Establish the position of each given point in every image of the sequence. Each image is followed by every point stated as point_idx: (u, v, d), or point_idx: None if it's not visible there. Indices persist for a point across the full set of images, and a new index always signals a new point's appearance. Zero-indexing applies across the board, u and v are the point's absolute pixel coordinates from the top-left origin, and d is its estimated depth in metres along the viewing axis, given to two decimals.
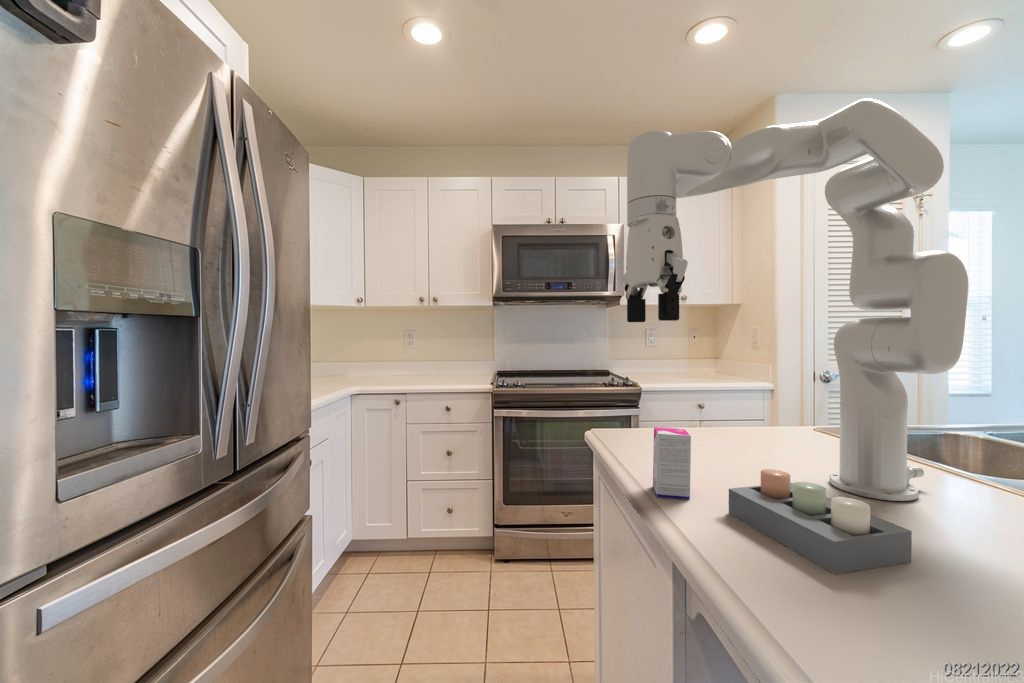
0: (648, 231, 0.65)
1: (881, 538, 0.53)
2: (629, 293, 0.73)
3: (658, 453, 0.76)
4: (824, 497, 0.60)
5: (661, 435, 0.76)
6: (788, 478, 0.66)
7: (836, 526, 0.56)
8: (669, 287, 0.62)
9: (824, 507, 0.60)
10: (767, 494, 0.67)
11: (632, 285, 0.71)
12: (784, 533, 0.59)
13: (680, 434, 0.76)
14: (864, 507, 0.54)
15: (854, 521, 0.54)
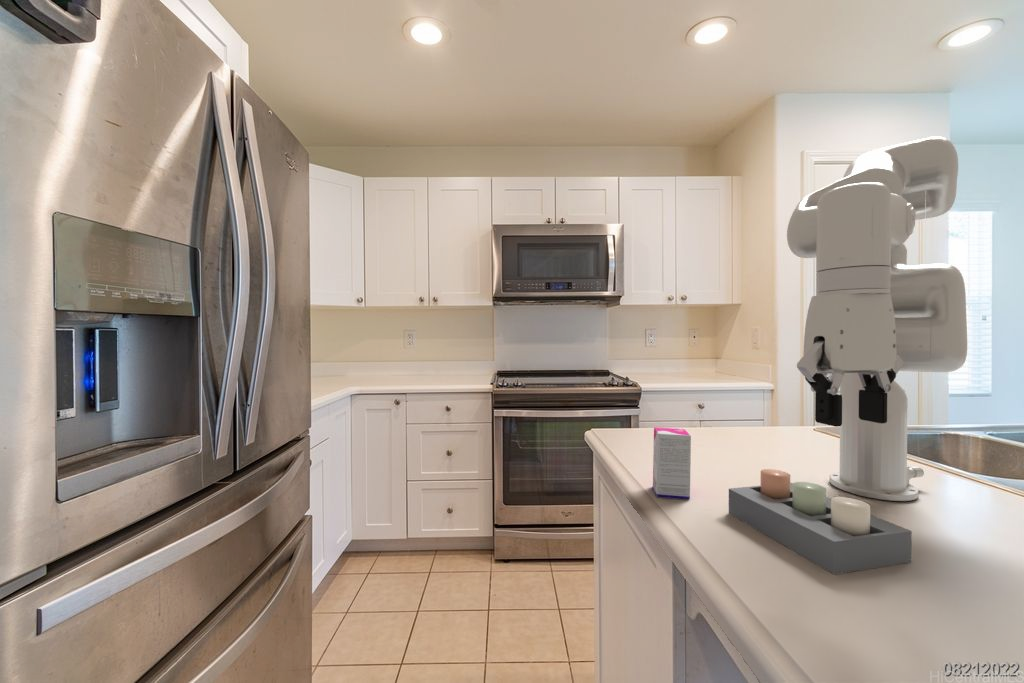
0: (888, 310, 0.54)
1: (881, 538, 0.53)
2: (838, 385, 0.53)
3: (658, 453, 0.76)
4: (824, 497, 0.60)
5: (661, 435, 0.76)
6: (788, 478, 0.66)
7: (836, 526, 0.56)
8: None
9: (824, 507, 0.60)
10: (767, 494, 0.67)
11: (845, 371, 0.53)
12: (784, 533, 0.59)
13: (680, 434, 0.76)
14: (864, 507, 0.54)
15: (854, 521, 0.54)
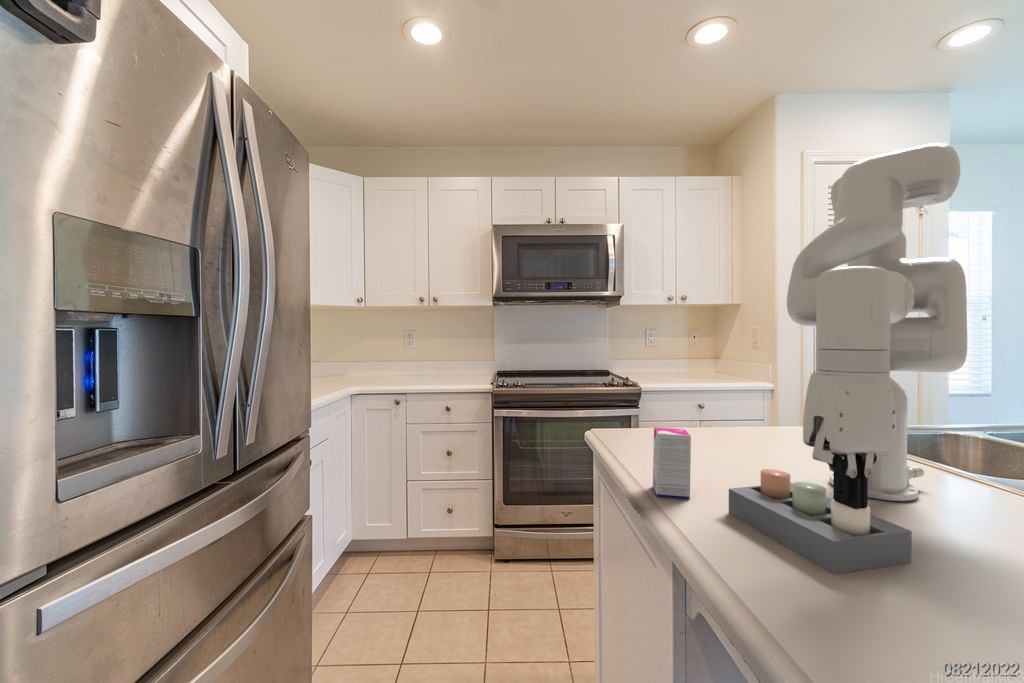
0: (888, 391, 0.54)
1: (881, 538, 0.53)
2: (854, 466, 0.54)
3: (658, 453, 0.76)
4: (824, 497, 0.60)
5: (661, 435, 0.76)
6: (788, 478, 0.66)
7: (836, 527, 0.56)
8: None
9: (824, 507, 0.60)
10: (767, 494, 0.67)
11: (845, 453, 0.53)
12: (784, 533, 0.59)
13: (680, 434, 0.76)
14: (863, 509, 0.54)
15: (854, 523, 0.54)
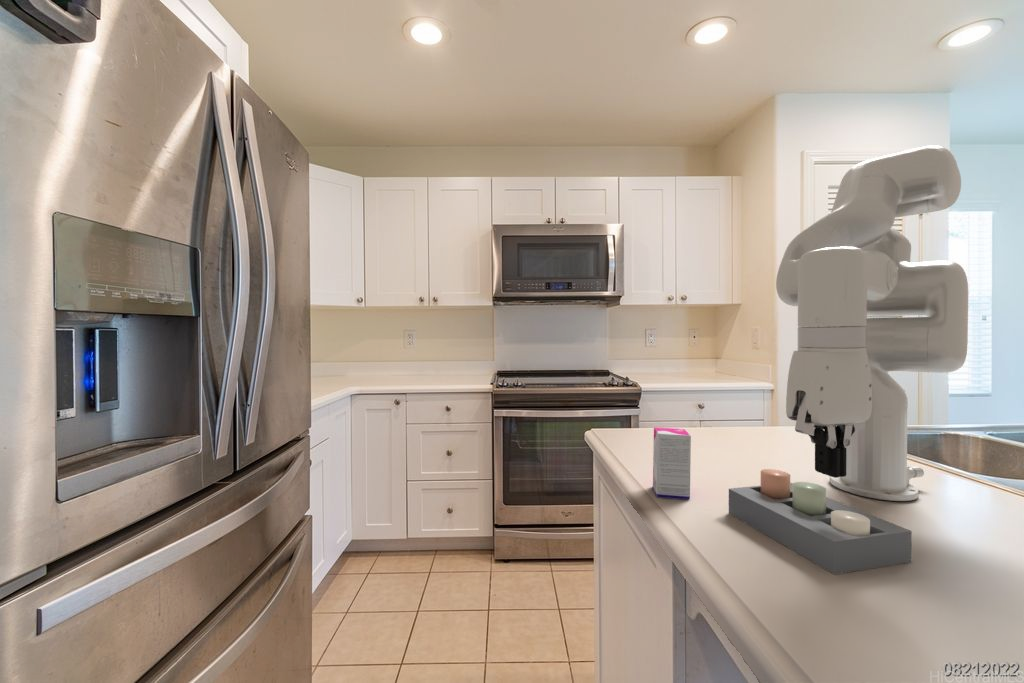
0: (865, 366, 0.57)
1: (881, 538, 0.53)
2: (834, 437, 0.57)
3: (658, 453, 0.76)
4: (824, 497, 0.60)
5: (661, 435, 0.76)
6: (788, 478, 0.66)
7: None
8: None
9: (824, 507, 0.60)
10: (767, 494, 0.67)
11: (825, 425, 0.56)
12: (784, 533, 0.59)
13: (680, 434, 0.76)
14: (863, 522, 0.54)
15: None
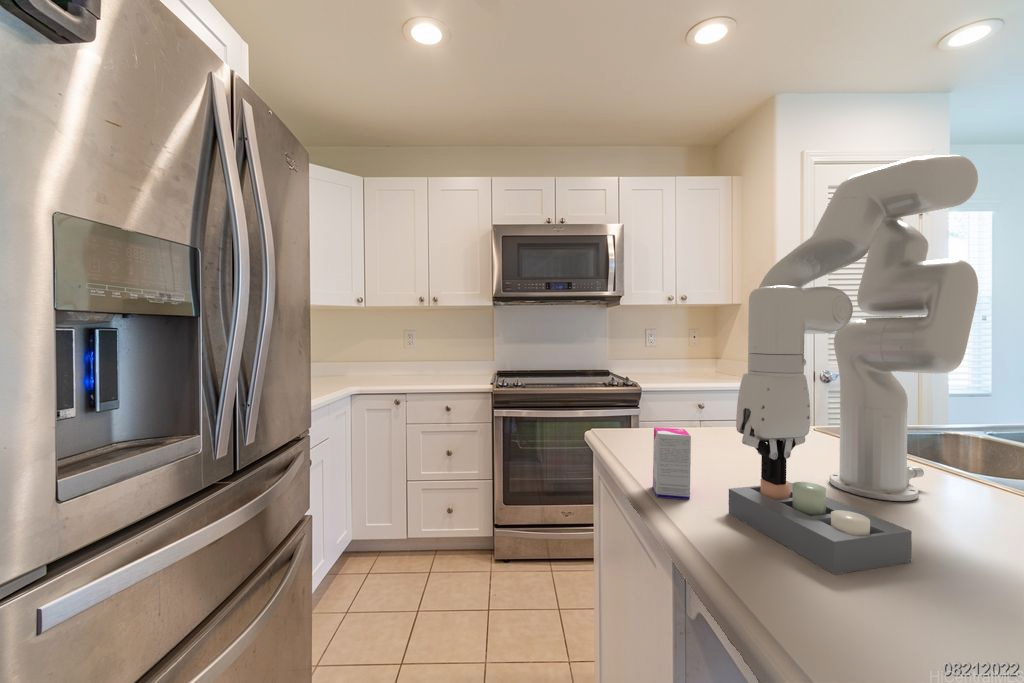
0: (803, 388, 0.66)
1: (881, 538, 0.53)
2: (775, 450, 0.66)
3: (658, 453, 0.76)
4: (824, 497, 0.60)
5: (661, 435, 0.76)
6: (788, 486, 0.66)
7: None
8: None
9: (824, 507, 0.60)
10: None
11: (766, 439, 0.65)
12: (784, 533, 0.59)
13: (680, 434, 0.76)
14: (863, 522, 0.54)
15: None
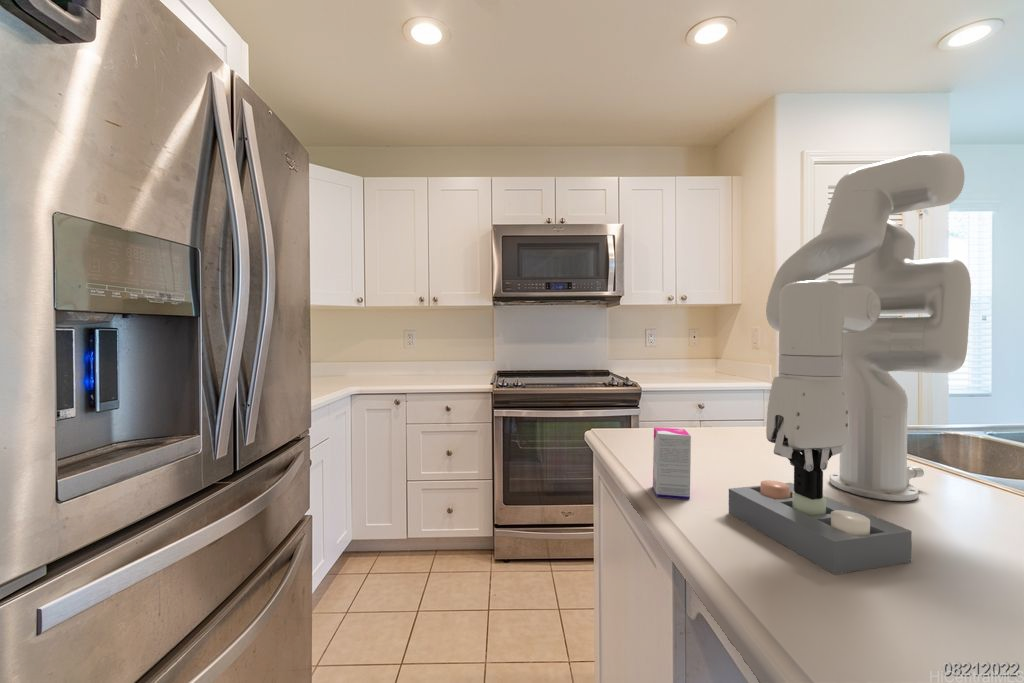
0: (841, 393, 0.60)
1: (881, 538, 0.53)
2: (811, 461, 0.60)
3: (658, 453, 0.76)
4: (824, 506, 0.60)
5: (661, 435, 0.76)
6: (788, 490, 0.66)
7: None
8: None
9: None
10: None
11: (802, 449, 0.59)
12: (784, 533, 0.59)
13: (680, 434, 0.76)
14: (863, 522, 0.54)
15: None
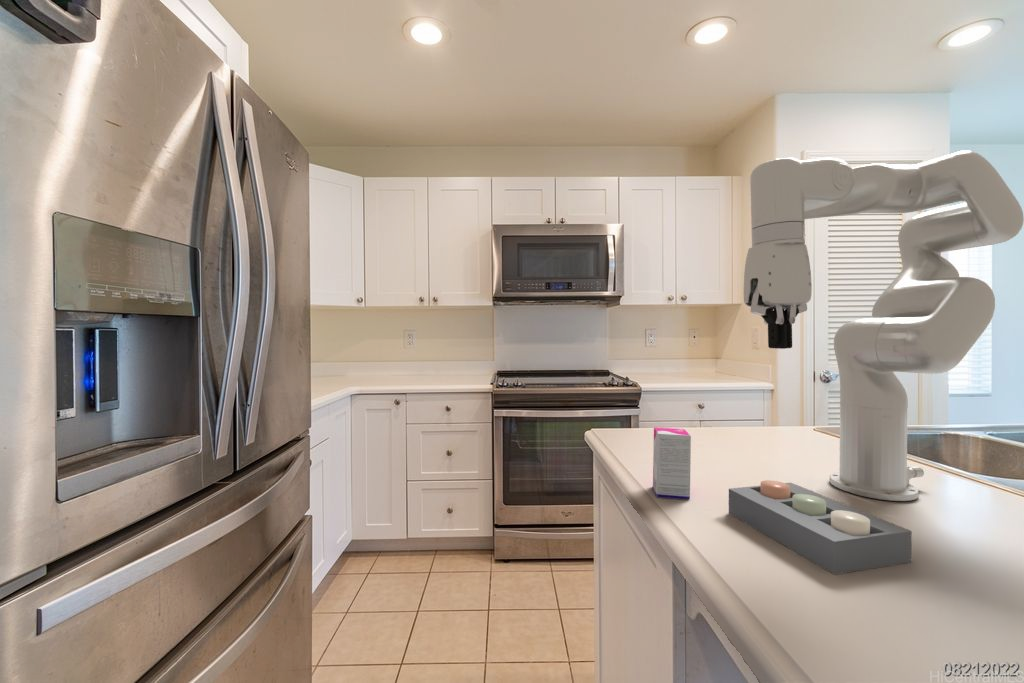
0: (804, 256, 0.70)
1: (881, 538, 0.53)
2: (782, 315, 0.70)
3: (658, 453, 0.76)
4: (824, 510, 0.60)
5: (661, 435, 0.76)
6: (788, 490, 0.66)
7: None
8: None
9: None
10: None
11: (773, 304, 0.69)
12: (784, 533, 0.59)
13: (680, 434, 0.76)
14: (863, 522, 0.54)
15: None
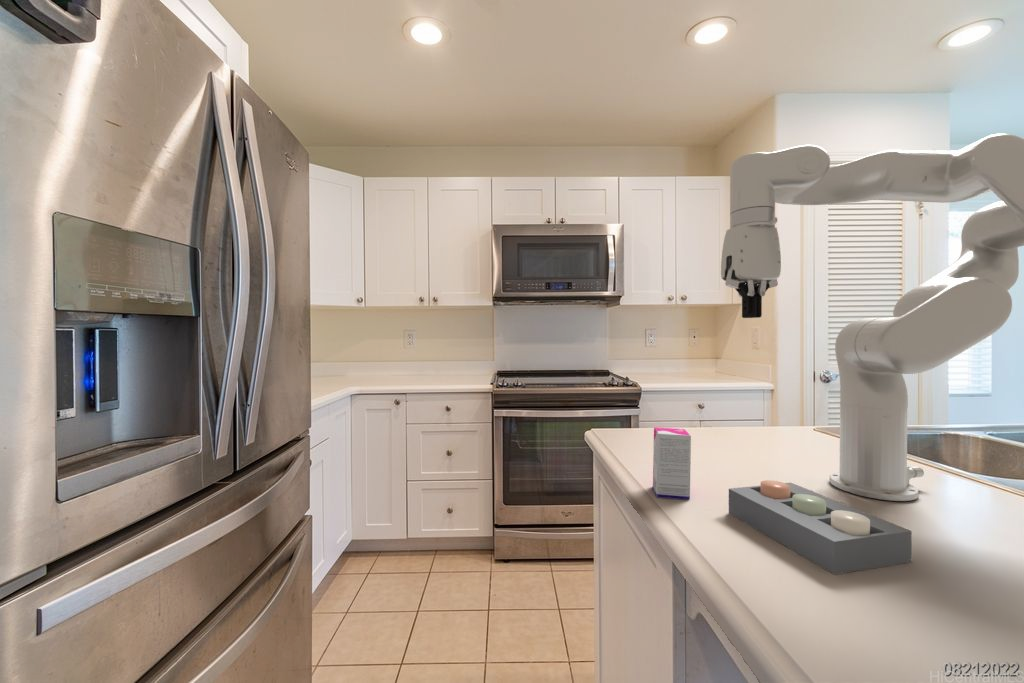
0: (774, 238, 0.80)
1: (881, 538, 0.53)
2: (752, 288, 0.81)
3: (658, 453, 0.76)
4: (824, 510, 0.60)
5: (661, 435, 0.76)
6: (788, 490, 0.66)
7: None
8: None
9: None
10: None
11: (745, 278, 0.80)
12: (784, 533, 0.59)
13: (680, 434, 0.76)
14: (863, 522, 0.54)
15: None
